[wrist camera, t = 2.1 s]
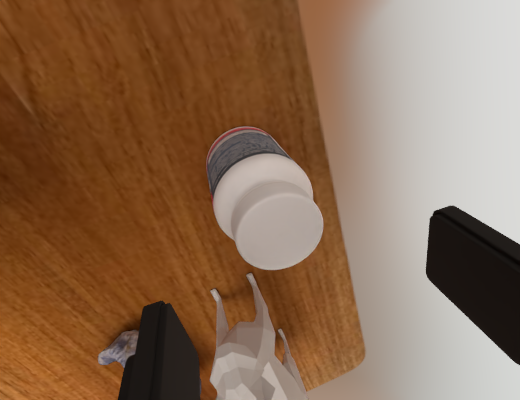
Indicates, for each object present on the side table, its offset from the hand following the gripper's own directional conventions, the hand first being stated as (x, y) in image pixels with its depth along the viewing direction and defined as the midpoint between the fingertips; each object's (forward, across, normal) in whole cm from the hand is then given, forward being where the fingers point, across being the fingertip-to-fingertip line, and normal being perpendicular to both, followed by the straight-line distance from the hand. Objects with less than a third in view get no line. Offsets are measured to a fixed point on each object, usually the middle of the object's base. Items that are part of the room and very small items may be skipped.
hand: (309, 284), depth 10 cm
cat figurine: (+12, +3, +15) cm, 20 cm away
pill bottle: (+12, 0, 0) cm, 12 cm away
